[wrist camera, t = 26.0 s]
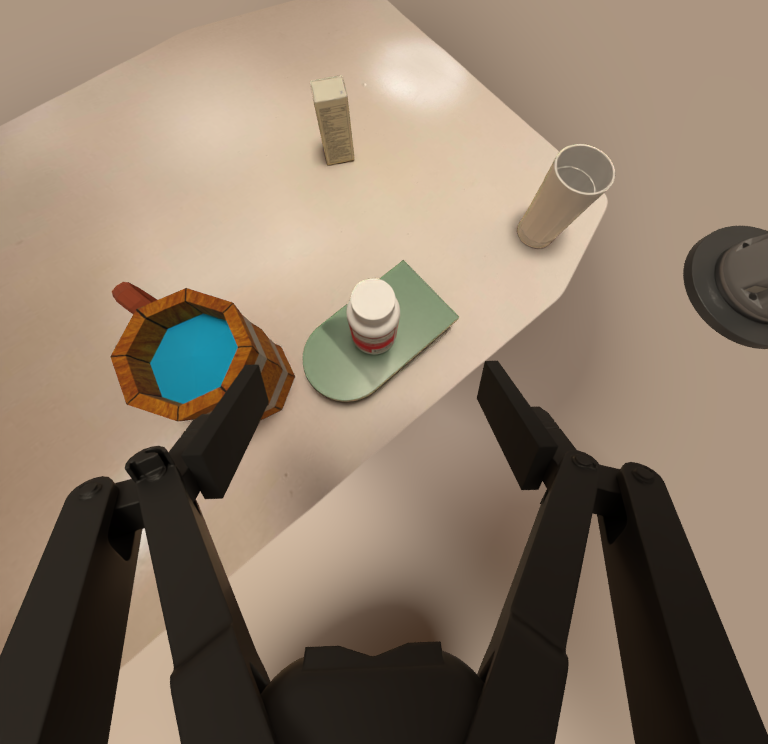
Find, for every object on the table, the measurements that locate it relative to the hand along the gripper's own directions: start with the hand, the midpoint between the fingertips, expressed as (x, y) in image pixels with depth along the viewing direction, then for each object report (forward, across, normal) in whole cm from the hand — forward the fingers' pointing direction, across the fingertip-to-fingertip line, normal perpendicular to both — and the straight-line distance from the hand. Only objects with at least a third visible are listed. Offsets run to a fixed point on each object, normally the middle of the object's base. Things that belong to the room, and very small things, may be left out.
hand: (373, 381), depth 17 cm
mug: (+23, -21, -13) cm, 34 cm away
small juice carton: (+51, -6, +14) cm, 53 cm away
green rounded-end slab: (+26, 0, -11) cm, 28 cm away
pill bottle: (+23, 0, -8) cm, 24 cm away
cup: (+40, +28, +3) cm, 48 cm away
